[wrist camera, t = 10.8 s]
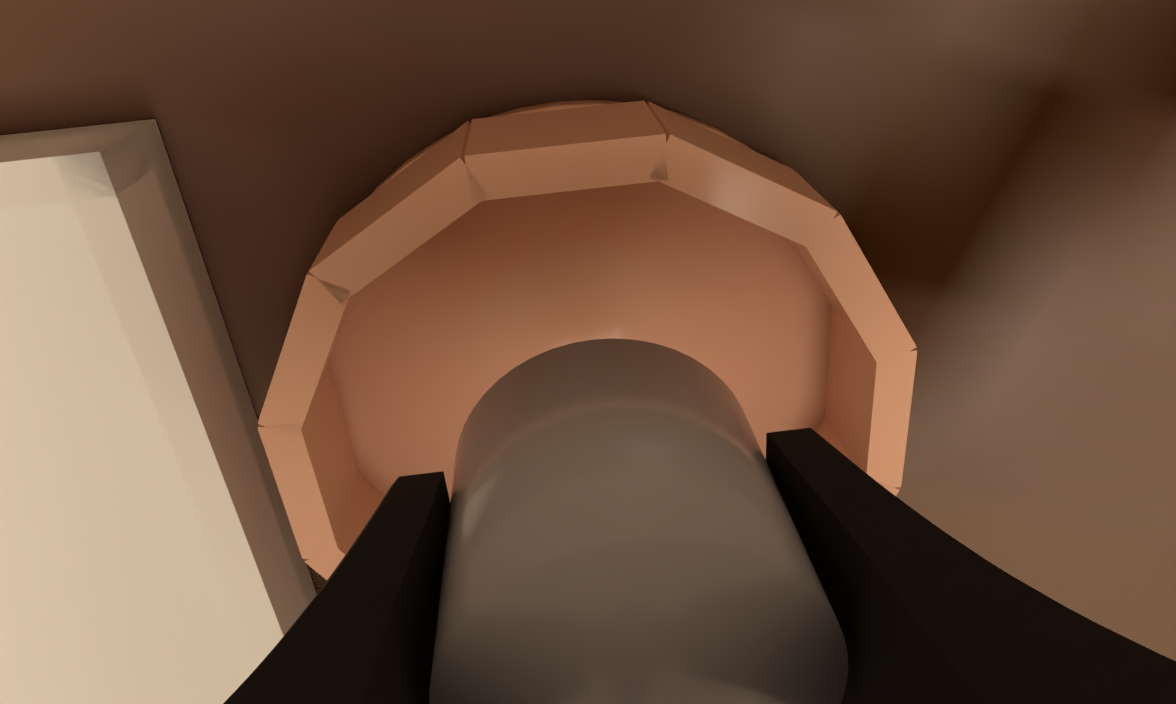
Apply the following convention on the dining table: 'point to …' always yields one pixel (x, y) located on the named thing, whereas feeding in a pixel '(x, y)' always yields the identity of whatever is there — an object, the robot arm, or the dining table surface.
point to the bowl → (572, 300)
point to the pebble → (624, 545)
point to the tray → (125, 441)
